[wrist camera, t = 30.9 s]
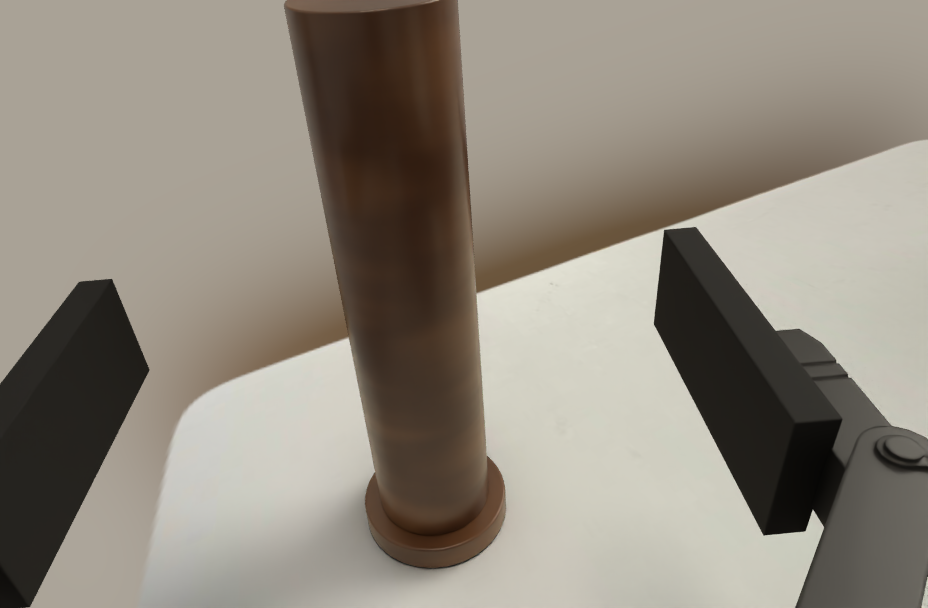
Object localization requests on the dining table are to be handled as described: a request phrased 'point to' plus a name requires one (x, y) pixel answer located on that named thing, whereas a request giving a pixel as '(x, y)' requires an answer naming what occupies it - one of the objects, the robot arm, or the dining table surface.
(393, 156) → the brown wooden cylinder
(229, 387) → the dining table surface
